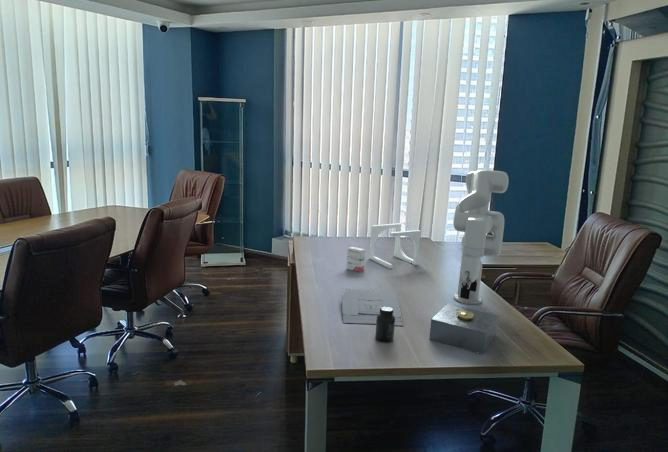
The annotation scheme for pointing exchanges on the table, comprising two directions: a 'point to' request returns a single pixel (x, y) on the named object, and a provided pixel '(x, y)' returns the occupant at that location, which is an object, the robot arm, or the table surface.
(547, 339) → the table surface
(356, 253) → the ink box
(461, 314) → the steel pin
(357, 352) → the table surface
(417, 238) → the white frame stand
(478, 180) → the robot arm
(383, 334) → the supplement bottle
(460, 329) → the grey square platform
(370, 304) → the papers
